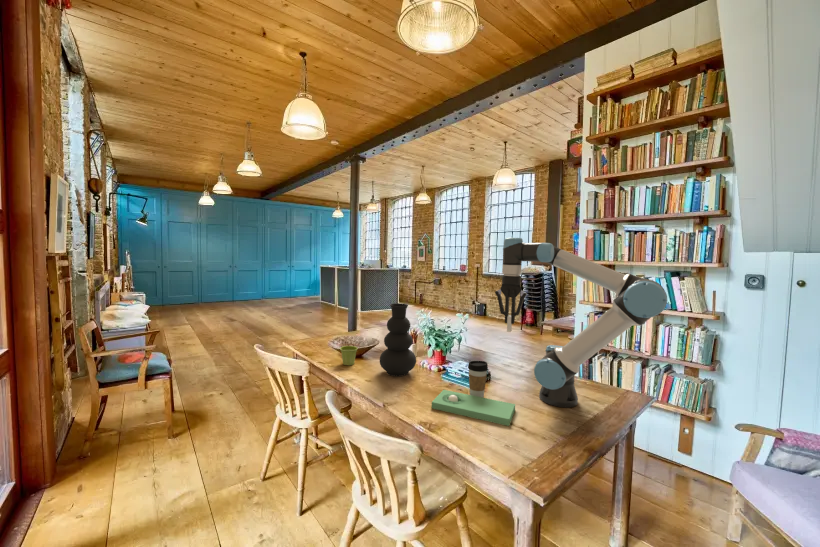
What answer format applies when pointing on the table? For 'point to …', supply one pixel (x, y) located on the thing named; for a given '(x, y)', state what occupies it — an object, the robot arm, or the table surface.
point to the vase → (398, 343)
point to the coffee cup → (477, 377)
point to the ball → (453, 398)
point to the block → (475, 407)
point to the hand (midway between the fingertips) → (509, 331)
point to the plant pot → (348, 354)
